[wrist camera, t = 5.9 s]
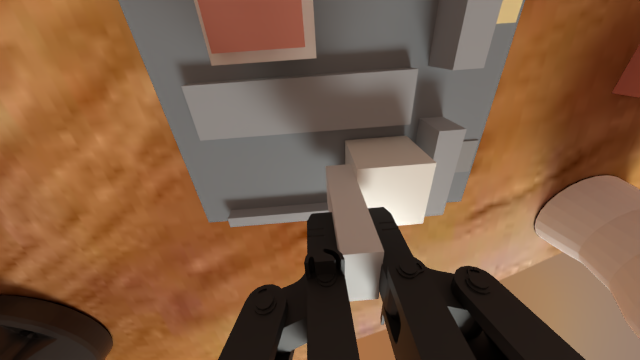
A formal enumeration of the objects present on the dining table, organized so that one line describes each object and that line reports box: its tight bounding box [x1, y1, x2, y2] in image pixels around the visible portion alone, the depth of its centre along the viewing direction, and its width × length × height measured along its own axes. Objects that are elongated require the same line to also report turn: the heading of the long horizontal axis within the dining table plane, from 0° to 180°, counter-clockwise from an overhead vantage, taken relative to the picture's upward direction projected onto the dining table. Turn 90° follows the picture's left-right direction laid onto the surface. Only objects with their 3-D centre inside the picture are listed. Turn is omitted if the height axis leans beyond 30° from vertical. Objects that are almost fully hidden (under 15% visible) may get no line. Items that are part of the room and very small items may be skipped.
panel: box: [118, 0, 525, 227], centre depth 13 cm, size 20×17×4 cm
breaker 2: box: [345, 136, 437, 226], centre depth 14 cm, size 4×4×4 cm
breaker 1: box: [194, 0, 317, 66], centre depth 9 cm, size 4×4×5 cm
